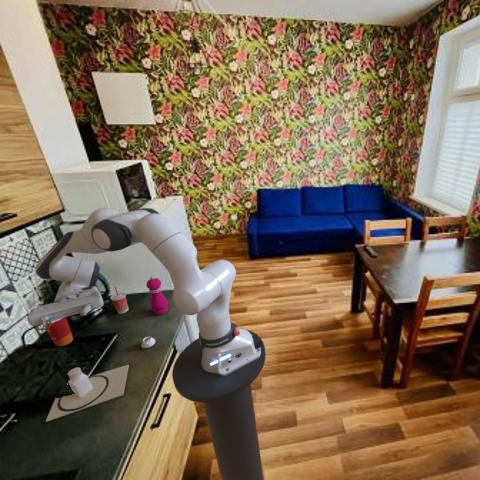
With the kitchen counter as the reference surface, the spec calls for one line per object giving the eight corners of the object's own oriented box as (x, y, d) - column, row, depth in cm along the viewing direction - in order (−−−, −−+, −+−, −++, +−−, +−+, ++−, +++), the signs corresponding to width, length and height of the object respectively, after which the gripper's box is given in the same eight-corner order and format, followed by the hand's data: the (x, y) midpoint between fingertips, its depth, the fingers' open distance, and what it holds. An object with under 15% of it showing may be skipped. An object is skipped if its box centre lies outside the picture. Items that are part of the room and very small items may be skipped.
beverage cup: (121, 306, 136) (113, 283, 130) (133, 307, 135) (125, 283, 130) (112, 314, 130) (103, 290, 125) (124, 314, 130) (116, 290, 124)
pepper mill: (158, 317, 128) (148, 281, 120) (150, 312, 131) (139, 277, 124) (172, 309, 134) (163, 275, 126) (164, 305, 137) (155, 271, 129)
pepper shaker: (86, 384, 93) (77, 364, 90) (93, 388, 92) (84, 368, 88) (73, 394, 90) (63, 374, 86) (80, 398, 89) (70, 378, 85)
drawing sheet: (129, 365, 102) (128, 364, 102) (123, 395, 90) (123, 393, 90) (61, 386, 93) (60, 385, 93) (45, 422, 82) (45, 421, 82)
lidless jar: (153, 338, 115) (140, 344, 112) (152, 332, 114) (138, 338, 111) (157, 344, 112) (143, 350, 109) (155, 339, 111) (141, 345, 108)
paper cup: (56, 339, 115) (43, 312, 109) (78, 333, 118) (67, 307, 113) (49, 351, 108) (35, 323, 103) (73, 344, 112) (61, 318, 106)
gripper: (29, 302, 95) (18, 323, 85) (100, 284, 106) (99, 301, 96) (36, 317, 98) (26, 339, 87) (105, 298, 108) (104, 315, 98)
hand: (65, 319), depth 91 cm, fingers open, 8 cm apart
